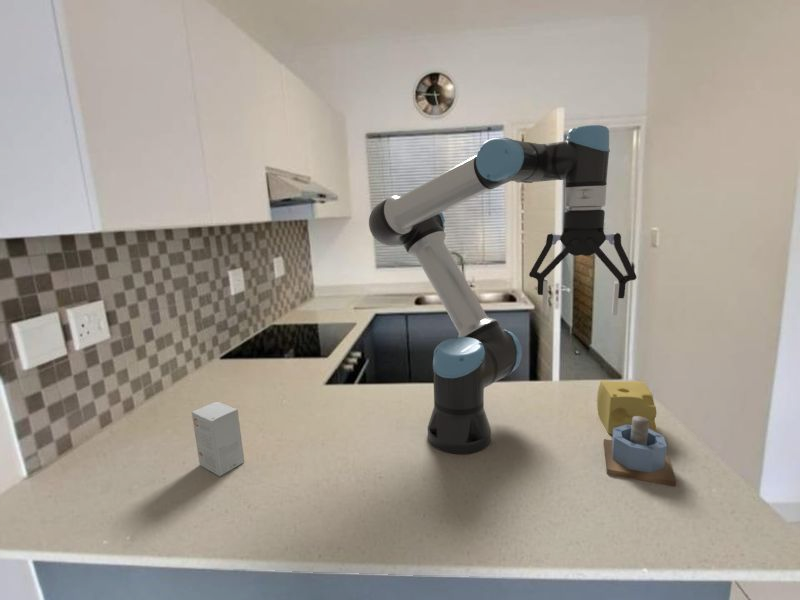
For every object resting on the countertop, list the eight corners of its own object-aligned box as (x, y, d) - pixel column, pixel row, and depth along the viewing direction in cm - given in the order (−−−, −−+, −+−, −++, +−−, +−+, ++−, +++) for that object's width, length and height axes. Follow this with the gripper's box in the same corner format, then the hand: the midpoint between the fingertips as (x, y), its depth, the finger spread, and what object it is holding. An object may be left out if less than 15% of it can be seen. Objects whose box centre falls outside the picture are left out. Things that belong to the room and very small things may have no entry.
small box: (245, 462, 95) (238, 408, 92) (219, 477, 90) (211, 421, 87) (224, 451, 99) (217, 400, 96) (198, 465, 94) (190, 411, 91)
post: (606, 473, 86) (610, 428, 84) (603, 442, 97) (606, 402, 95) (675, 486, 82) (681, 439, 79) (664, 452, 92) (668, 410, 90)
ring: (613, 466, 87) (615, 444, 86) (610, 442, 95) (612, 422, 94) (666, 475, 83) (669, 453, 82) (658, 450, 92) (661, 429, 90)
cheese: (655, 438, 98) (659, 399, 96) (605, 435, 100) (608, 396, 98) (640, 417, 108) (643, 380, 106) (595, 414, 110) (597, 378, 108)
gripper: (517, 211, 86) (515, 312, 90) (659, 207, 76) (648, 320, 81) (522, 210, 93) (519, 304, 97) (652, 206, 83) (643, 310, 88)
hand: (578, 311), depth 89 cm, fingers open, 13 cm apart
